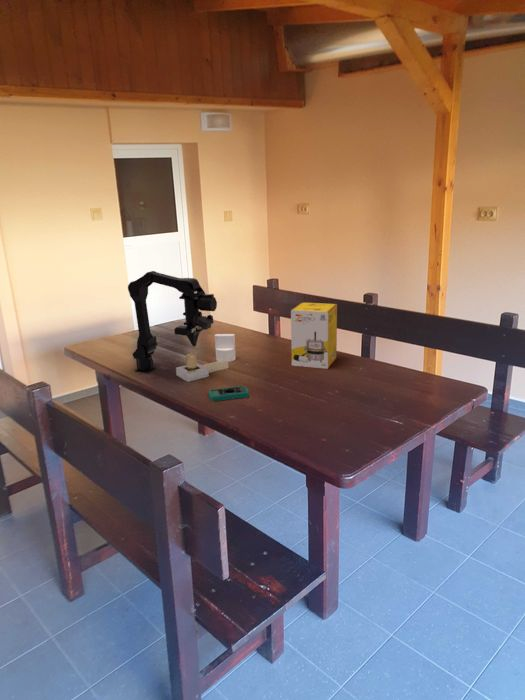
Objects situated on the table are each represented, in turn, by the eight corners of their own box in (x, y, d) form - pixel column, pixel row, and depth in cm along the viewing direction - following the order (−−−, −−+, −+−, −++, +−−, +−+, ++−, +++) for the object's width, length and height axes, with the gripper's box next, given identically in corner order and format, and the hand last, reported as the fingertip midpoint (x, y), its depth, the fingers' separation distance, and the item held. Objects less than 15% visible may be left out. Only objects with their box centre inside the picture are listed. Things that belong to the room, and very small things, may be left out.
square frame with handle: (176, 375, 228) (175, 367, 227) (221, 364, 240) (221, 357, 239) (187, 381, 220) (186, 373, 219) (233, 370, 232) (232, 362, 231)
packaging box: (291, 365, 237) (290, 310, 230) (302, 354, 252) (301, 302, 245) (327, 368, 232) (327, 312, 224) (336, 357, 246) (337, 304, 239)
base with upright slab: (237, 357, 252) (235, 332, 248) (234, 363, 243) (232, 337, 240) (218, 357, 253) (216, 332, 249) (214, 363, 244) (213, 337, 241)
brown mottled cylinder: (186, 378, 226) (184, 355, 223) (190, 375, 229) (188, 352, 226) (194, 379, 224) (193, 356, 221) (199, 375, 228) (197, 353, 225)
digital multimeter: (250, 398, 203) (249, 390, 203) (211, 403, 200) (210, 395, 199) (245, 391, 210) (245, 384, 209) (208, 396, 207) (207, 389, 206)
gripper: (195, 316, 209) (198, 354, 214) (220, 306, 225) (222, 342, 229) (172, 314, 214) (175, 351, 218) (198, 304, 230) (200, 339, 234)
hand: (194, 346), depth 225 cm, fingers closed
